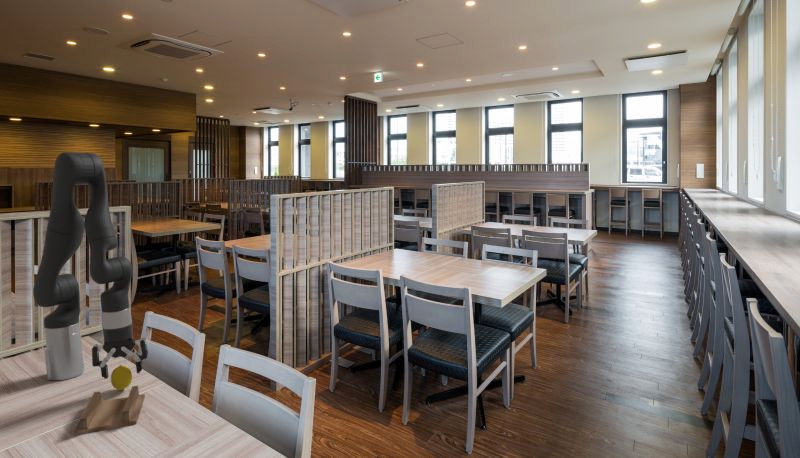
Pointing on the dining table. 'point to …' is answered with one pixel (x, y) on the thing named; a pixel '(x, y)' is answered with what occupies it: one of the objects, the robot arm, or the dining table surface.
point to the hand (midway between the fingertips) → (122, 375)
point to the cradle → (110, 412)
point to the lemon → (121, 377)
